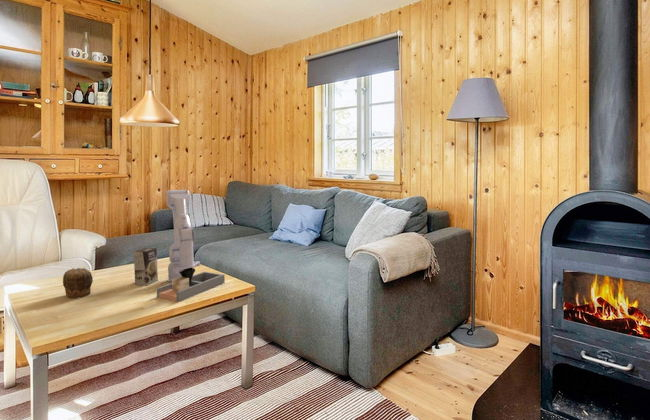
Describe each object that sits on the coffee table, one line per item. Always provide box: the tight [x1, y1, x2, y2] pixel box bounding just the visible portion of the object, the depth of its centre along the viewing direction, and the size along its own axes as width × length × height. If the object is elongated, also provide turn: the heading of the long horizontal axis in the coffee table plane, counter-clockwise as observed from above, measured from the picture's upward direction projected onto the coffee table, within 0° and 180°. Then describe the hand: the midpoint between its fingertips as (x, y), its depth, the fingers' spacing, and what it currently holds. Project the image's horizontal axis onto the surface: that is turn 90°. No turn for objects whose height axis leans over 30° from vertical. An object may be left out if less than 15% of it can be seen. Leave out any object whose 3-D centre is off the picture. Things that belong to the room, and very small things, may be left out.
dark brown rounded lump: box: [62, 267, 94, 299], centre depth 174 cm, size 11×11×12 cm
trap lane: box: [156, 271, 226, 303], centre depth 183 cm, size 12×29×4 cm, turn 155°
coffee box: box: [133, 247, 159, 287], centre depth 193 cm, size 9×6×16 cm
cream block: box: [171, 277, 189, 292], centre depth 176 cm, size 5×5×5 cm
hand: (187, 285), depth 180 cm, fingers closed
